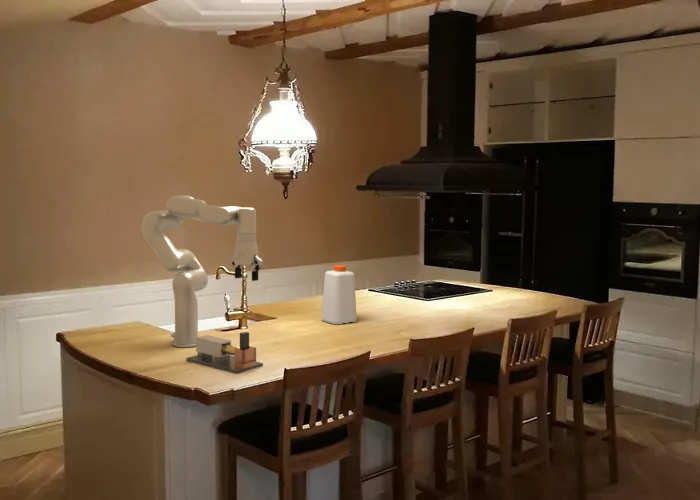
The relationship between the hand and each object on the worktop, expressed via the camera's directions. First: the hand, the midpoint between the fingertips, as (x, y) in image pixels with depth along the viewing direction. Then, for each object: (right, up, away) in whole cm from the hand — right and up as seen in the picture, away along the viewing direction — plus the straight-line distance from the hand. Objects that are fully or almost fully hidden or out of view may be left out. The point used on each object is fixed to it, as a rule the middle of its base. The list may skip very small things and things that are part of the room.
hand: (246, 279), depth 302 cm
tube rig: (-6, -32, -16) cm, 36 cm away
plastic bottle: (+37, -24, +68) cm, 81 cm away
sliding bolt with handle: (-3, -28, -19) cm, 34 cm away
